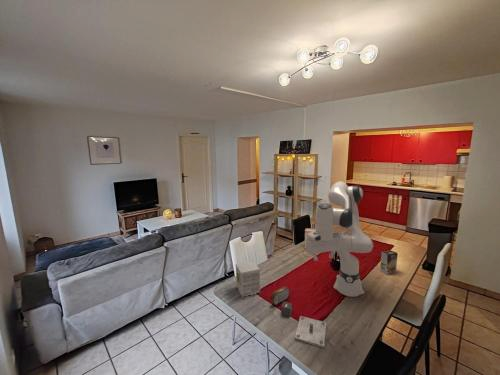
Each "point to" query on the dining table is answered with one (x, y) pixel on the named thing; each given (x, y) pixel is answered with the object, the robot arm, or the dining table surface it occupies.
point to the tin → (280, 295)
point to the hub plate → (311, 331)
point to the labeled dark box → (286, 309)
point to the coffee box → (388, 262)
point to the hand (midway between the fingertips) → (323, 259)
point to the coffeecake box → (307, 233)
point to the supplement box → (248, 278)
